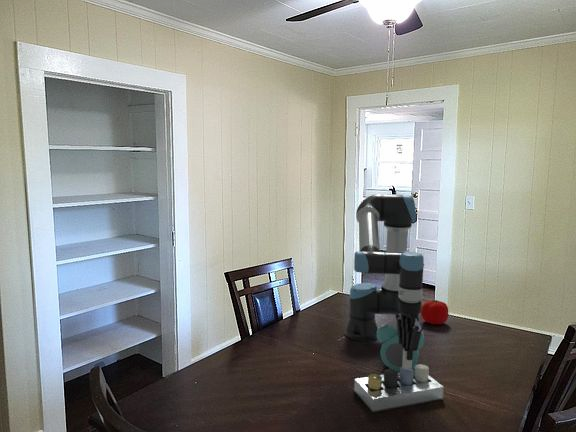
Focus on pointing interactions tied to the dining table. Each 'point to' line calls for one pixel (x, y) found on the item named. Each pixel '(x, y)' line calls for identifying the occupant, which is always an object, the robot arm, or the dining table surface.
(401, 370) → the blue ovoid
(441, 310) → the tomato
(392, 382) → the black rounded cylinder
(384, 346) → the alarm clock
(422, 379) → the white egg
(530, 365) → the dining table surface
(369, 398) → the white socket board
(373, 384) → the gold rounded cylinder
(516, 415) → the dining table surface
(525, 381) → the dining table surface
